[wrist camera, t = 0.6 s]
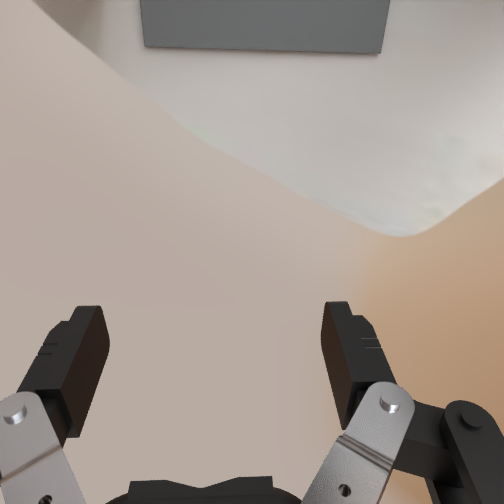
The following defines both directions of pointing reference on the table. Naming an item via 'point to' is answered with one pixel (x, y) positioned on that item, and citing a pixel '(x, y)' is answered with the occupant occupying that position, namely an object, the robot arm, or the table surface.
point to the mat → (266, 24)
